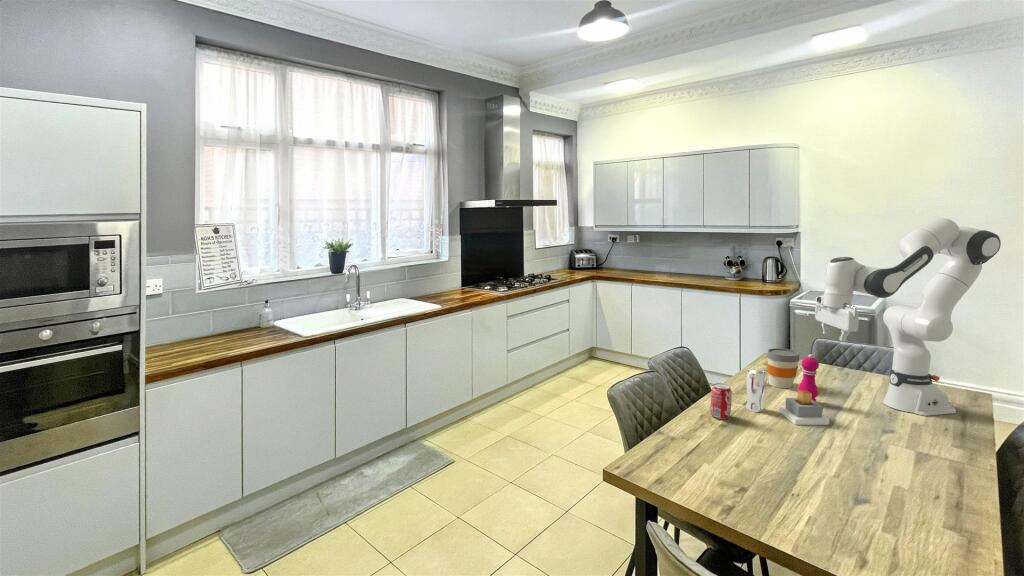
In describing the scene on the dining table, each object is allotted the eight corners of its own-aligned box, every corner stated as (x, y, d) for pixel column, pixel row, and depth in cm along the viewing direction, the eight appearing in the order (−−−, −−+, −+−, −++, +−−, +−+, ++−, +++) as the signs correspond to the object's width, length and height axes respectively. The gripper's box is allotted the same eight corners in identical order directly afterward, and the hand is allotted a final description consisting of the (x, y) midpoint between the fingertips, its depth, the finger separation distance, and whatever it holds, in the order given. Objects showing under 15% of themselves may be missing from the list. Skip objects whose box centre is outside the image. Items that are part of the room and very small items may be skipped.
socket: (809, 411, 187) (810, 396, 186) (829, 424, 175) (830, 408, 174) (777, 411, 187) (779, 396, 186) (795, 424, 176) (796, 408, 175)
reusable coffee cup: (789, 380, 221) (791, 348, 219) (802, 390, 209) (805, 356, 207) (760, 379, 222) (762, 347, 220) (771, 389, 210) (774, 355, 208)
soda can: (729, 414, 185) (731, 383, 183) (731, 421, 179) (733, 390, 177) (709, 411, 187) (711, 381, 186) (710, 418, 181) (712, 388, 179)
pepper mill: (811, 399, 199) (815, 351, 196) (820, 406, 192) (825, 356, 189) (793, 398, 200) (797, 351, 197) (801, 405, 193) (805, 356, 190)
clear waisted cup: (764, 407, 191) (766, 370, 189) (764, 413, 185) (767, 375, 183) (744, 404, 194) (746, 368, 192) (744, 410, 188) (747, 373, 186)
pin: (804, 416, 183) (806, 390, 181) (809, 419, 180) (811, 393, 178) (795, 416, 183) (798, 390, 181) (800, 419, 180) (803, 393, 178)
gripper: (866, 306, 169) (861, 345, 171) (829, 296, 189) (826, 331, 191) (847, 306, 169) (843, 345, 171) (812, 296, 189) (809, 331, 192)
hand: (834, 338), depth 182 cm, fingers open, 8 cm apart
